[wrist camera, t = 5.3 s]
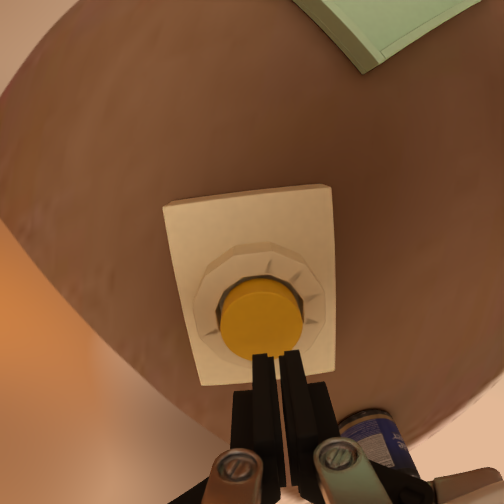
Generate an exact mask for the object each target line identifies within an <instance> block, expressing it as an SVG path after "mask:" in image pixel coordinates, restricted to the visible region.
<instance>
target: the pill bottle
mask: <svg viewBox="0 0 504 504" xmlns="http://www.w3.org/2000/svg"><path fill="white" fill-rule="evenodd" d="M338 428H339V432H340V435H341V437H346V438H350V439H353V440H354V441H356V442H357V443H358V444H359V445H360V446H361V447H362V449H363V451H364V452H365V454H366V456H367V458H368V459H369V460H372V461H374V462H377V463H379V464H382V465H384V466H387V467H389V468H392V469H394V470H397V471H400V472H402V473H405V474H408V475H411V476H413V477H416V478H419V479H420V475H419V473H418V471H417V469H416V467H415V464H414V462H413V460H412V458H411V456H410V454H409V451H408V449H407V447H406V445H405V443H404V440H403V439H402V437H401V435H400V433H399V430H398V428H397V426H396V424H395V422H394V420H393V418H392V416H391V415H390V414H389V413H387V412H384V411H379V410H367V411H362V412H359V413H358V414H355V415H352V416H351V417H349V418H347V419H346V420H344V421H343V422H342V423H341V424H339V425H338Z"/></svg>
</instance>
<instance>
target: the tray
mask: <svg viewBox="0 0 504 504" xmlns="http://www.w3.org/2000/svg"><path fill="white" fill-rule="evenodd" d="M293 1H294V2H295V3H296V4H297V5H298V6H299V7H300V8H301V9H302V10H303V11H304V12H305V13H306V14H307V15H308V16H309V17H310V18H311V19H312V20H313V21H314V22H315V23H316V24H317V25H318V26H319V27H320V28H321V29H322V30H323V31H324V32H325V33H326V34H327V35H328V36H329V37H330V38H331V39H332V40H333V41H334V42H335V44H336V45H337V46H338V47H339V48H340V49H341V50H342V51H343V52H344V54H345V55H346V56H347V57H348V58H349V59H350V61H351V62H352V63H353V64H354V65H355V66H356V68H357V69H358V70H359V71H360V72H361V74H365V73H366V72H368V71H370V70H371V69H373V68H375V67H376V66H378V65H380V64H381V63H383V62H384V61H385V60H387V59H388V58H390V57H391V56H393V55H394V54H396V53H397V52H399V51H400V50H402V49H403V48H405V47H406V46H408V45H409V44H411V43H412V42H414V41H415V40H417V39H418V38H420V37H422V36H423V35H425V34H426V33H428V32H429V31H431V30H433V29H434V28H436V27H437V26H439V25H441V24H442V23H444V22H445V21H447V20H449V19H450V18H452V17H454V16H455V15H457V14H459V13H460V12H462V11H464V10H466V9H467V8H469V7H471V6H472V5H474V4H476V3H478V2H480V1H481V0H293Z"/></svg>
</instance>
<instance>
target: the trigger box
mask: <svg viewBox="0 0 504 504" xmlns="http://www.w3.org/2000/svg"><path fill="white" fill-rule="evenodd" d="M163 214H164V220H165V226H166V231H167V237H168V242H169V248H170V253H171V258H172V263H173V268H174V273H175V278H176V283H177V288H178V292H179V297H180V301H181V306H182V310H183V315H184V319H185V323H186V327H187V332H188V336H189V340H190V344H191V348H192V352H193V356H194V360H195V363H196V367H197V371H198V375H199V378H200V382H201V385H202V386H209V385H224V384H237V383H248V382H252V361H250V360H246V359H243V358H241V357H239V356H237V355H236V354H234V353H233V352H232V351H231V350H230V349H229V348H228V347H227V346H226V344H225V343H224V341H223V339H222V336H221V332H220V322H221V315H222V308H223V303H224V301H225V299H226V297H227V295H228V294H229V292H230V291H231V290H232V289H233V288H235V287H236V286H237V285H239V284H240V283H242V282H245V281H247V280H251V279H256V278H265V279H271V280H274V281H277V282H279V283H281V284H283V285H284V286H286V287H287V288H288V289H289V290H290V291H291V292H292V294H293V295H294V297H295V299H296V302H297V305H298V308H299V311H300V313H301V317H302V322H303V328H302V333H301V336H300V338H299V340H298V342H297V344H296V345H295V346H294V347H293V349H292V350H298V349H299V351H300V355H301V359H302V363H303V368H304V372H305V376H306V375H313V374H319V373H325V372H331V371H334V370H335V346H336V275H335V242H334V221H333V204H332V190H331V187H329V186H326V185H324V184H321V183H320V184H309V185H298V186H288V187H278V188H268V189H259V190H250V191H242V192H233V193H225V194H218V195H210V196H203V197H196V198H189V199H182V200H175V201H171V202H170V203H168V204H167V205H165V206H164V207H163ZM274 364H275V373H276V379H280V368H279V358H277V359H274Z"/></svg>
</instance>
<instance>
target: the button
mask: <svg viewBox="0 0 504 504" xmlns="http://www.w3.org/2000/svg"><path fill="white" fill-rule="evenodd" d="M302 328H303V322H302V317H301V313H300V311H299V308H298V305H297V302H296V299H295V297H294V295H293V294H292V292H291V291H290V290H289V289H288V288H287V287H286V286H284V285H283V284H281V283H279V282H277V281H274V280H271V279H265V278H256V279H251V280H247V281H245V282H242V283H240V284H239V285H237V286H236V287H235V288H233V289H232V290H231V291H230V292H229V294H228V295H227V297H226V299H225V301H224V303H223V308H222V315H221V322H220V332H221V336H222V339H223V341H224V343H225V344H226V346H227V347H228V348H229V349H230V350H231V351H232V352H233V353H234V354H236V355H237V356H239V357H241V358H243V359H246V360H250V361H252V354H263V353H267V355H268V357H272V356H274V359H277V358H279V356H281V355H284V351H290V350H292V349H293V347H294V346H295V345H296V344H297V342H298V340H299V338H300V336H301V333H302Z"/></svg>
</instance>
